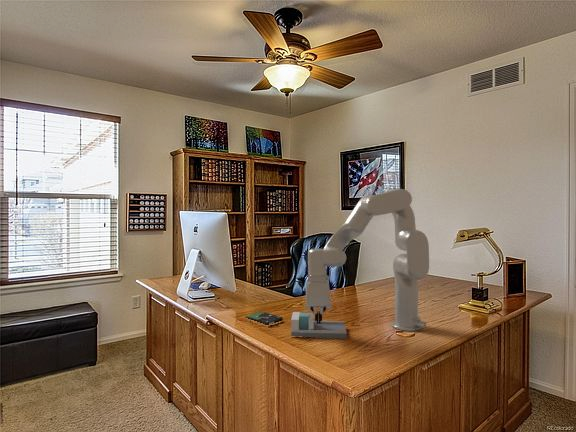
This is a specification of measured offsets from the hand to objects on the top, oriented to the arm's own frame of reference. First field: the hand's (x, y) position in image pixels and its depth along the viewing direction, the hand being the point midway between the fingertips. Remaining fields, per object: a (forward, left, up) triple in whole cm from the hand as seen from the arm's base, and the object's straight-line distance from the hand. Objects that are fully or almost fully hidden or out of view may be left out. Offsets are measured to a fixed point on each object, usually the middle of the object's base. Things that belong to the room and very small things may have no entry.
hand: (318, 322), depth 150 cm
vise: (0, 0, -4) cm, 4 cm away
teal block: (+4, +4, -2) cm, 6 cm away
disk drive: (+28, +8, -5) cm, 29 cm away
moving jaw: (+2, +2, -2) cm, 4 cm away
